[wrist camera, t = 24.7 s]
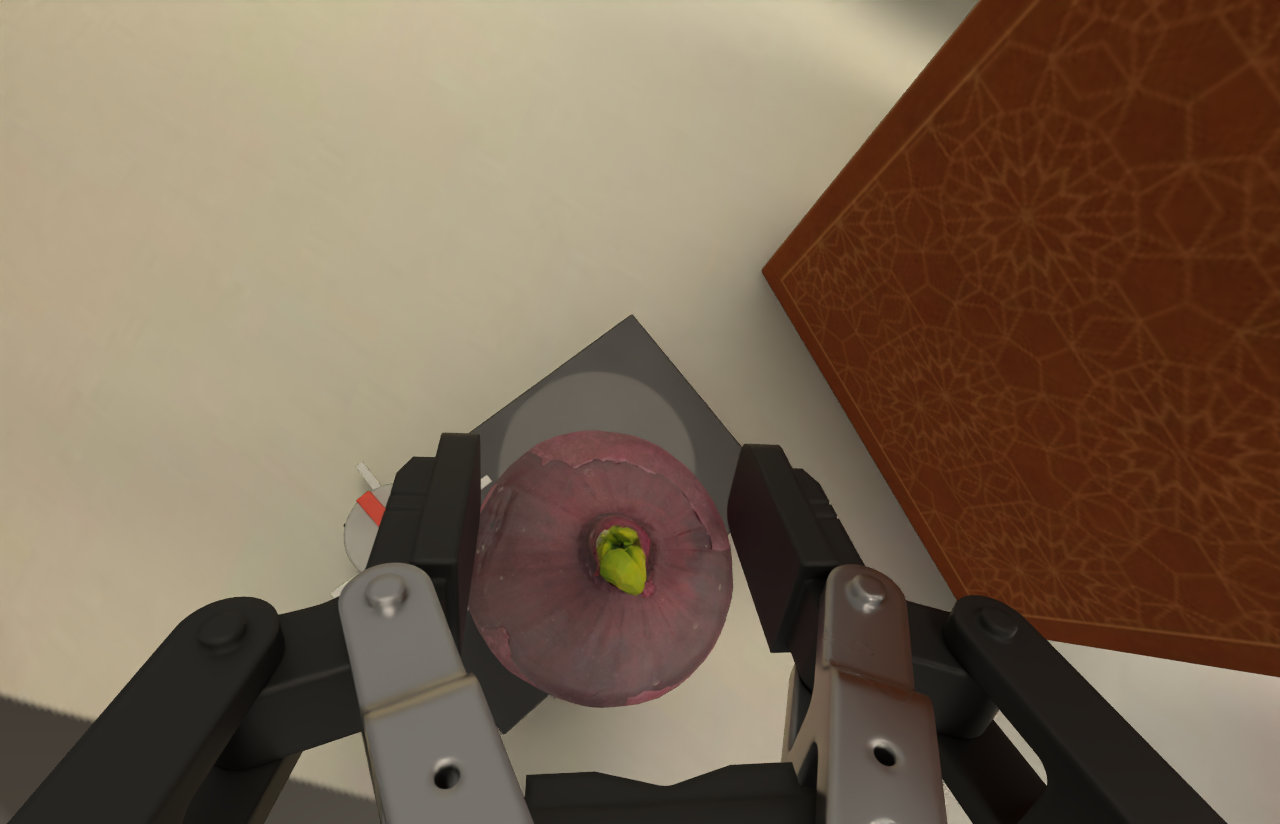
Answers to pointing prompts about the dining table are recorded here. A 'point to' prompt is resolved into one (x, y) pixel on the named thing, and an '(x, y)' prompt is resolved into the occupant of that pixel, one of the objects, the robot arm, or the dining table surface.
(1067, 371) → the book
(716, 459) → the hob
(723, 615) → the vegetable
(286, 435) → the dining table surface
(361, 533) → the burner knob
